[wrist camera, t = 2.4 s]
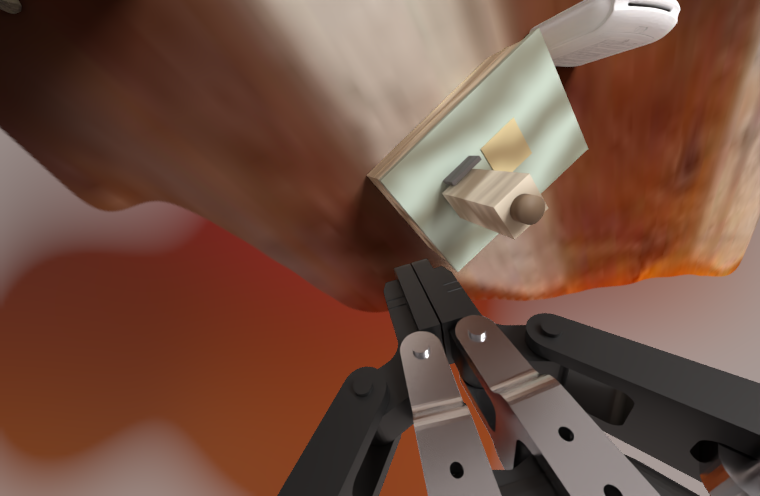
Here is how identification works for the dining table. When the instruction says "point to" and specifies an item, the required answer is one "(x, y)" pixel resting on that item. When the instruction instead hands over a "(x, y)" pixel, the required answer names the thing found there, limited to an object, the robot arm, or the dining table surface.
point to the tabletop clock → (10, 6)
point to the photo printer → (606, 28)
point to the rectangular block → (482, 144)
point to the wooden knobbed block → (497, 200)
